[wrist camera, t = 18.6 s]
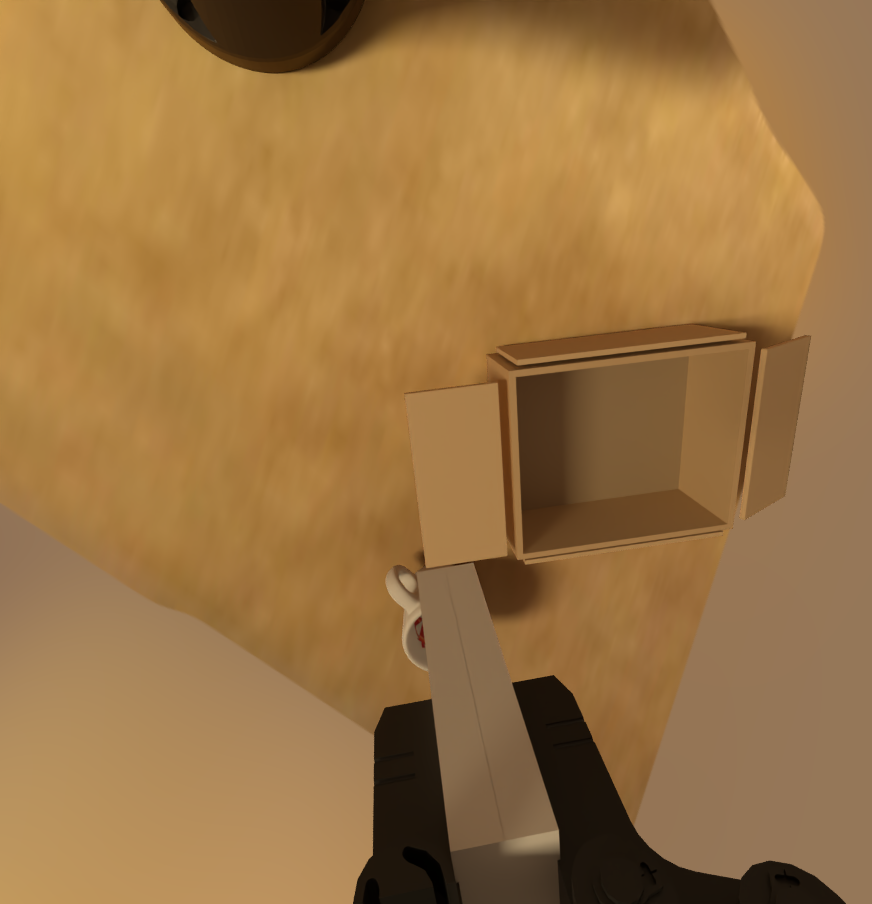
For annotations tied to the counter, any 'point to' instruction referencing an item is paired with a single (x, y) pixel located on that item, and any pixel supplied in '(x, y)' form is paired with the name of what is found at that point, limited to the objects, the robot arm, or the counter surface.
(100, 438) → the counter surface
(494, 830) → the robot arm
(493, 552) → the flap near
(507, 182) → the counter surface
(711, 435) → the carton
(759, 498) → the flap far
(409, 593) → the cup
